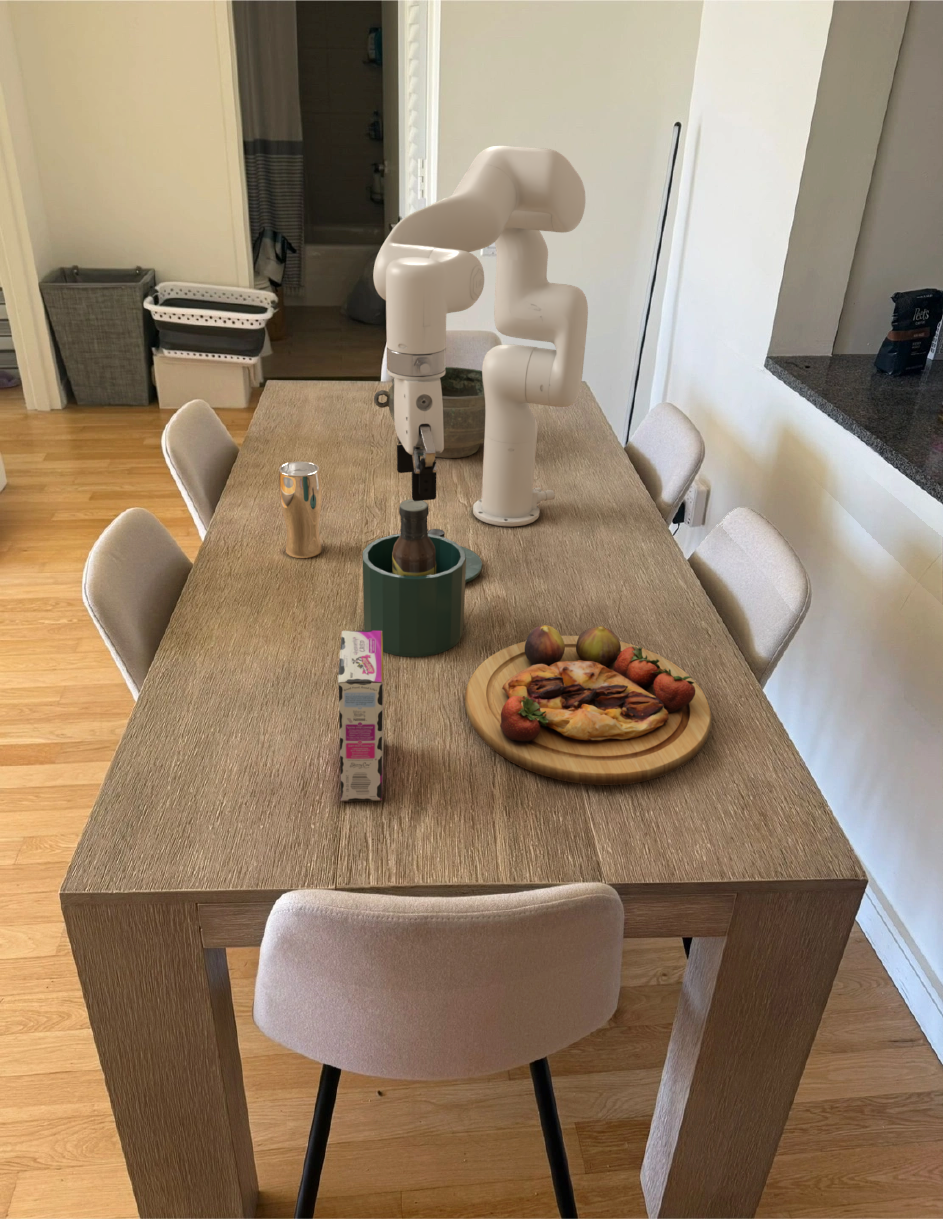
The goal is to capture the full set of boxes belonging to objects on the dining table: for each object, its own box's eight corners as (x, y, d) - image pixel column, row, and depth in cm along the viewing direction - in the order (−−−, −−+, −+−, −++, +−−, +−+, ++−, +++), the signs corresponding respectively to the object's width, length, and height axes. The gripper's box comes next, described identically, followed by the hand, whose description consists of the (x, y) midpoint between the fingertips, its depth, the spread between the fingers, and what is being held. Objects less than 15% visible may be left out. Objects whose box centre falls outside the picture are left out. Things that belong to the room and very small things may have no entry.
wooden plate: (545, 822, 106) (550, 764, 102) (424, 677, 130) (424, 626, 126) (762, 747, 119) (775, 693, 115) (615, 629, 143) (622, 580, 139)
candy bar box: (384, 802, 108) (383, 682, 99) (340, 803, 107) (335, 683, 99) (384, 741, 117) (383, 628, 109) (343, 742, 117) (339, 628, 109)
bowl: (506, 426, 224) (509, 363, 216) (531, 466, 202) (536, 397, 194) (369, 429, 218) (368, 364, 211) (380, 470, 196) (379, 399, 189)
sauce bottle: (403, 612, 144) (403, 491, 134) (441, 621, 142) (444, 498, 132) (385, 632, 139) (384, 507, 129) (425, 641, 137) (427, 515, 127)
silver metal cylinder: (316, 561, 159) (312, 478, 152) (277, 556, 160) (270, 473, 153) (329, 544, 165) (326, 463, 158) (291, 539, 166) (286, 458, 159)
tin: (436, 598, 149) (437, 526, 143) (480, 643, 138) (484, 567, 132) (349, 617, 143) (347, 542, 137) (388, 666, 132) (387, 587, 126)
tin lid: (455, 542, 168) (456, 507, 164) (498, 579, 156) (500, 543, 153) (374, 557, 161) (373, 521, 158) (412, 598, 149) (412, 560, 146)
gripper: (461, 379, 115) (458, 508, 123) (429, 342, 129) (428, 460, 138) (401, 383, 113) (401, 513, 122) (375, 344, 127) (377, 463, 136)
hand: (416, 485), depth 130 cm, fingers open, 9 cm apart
